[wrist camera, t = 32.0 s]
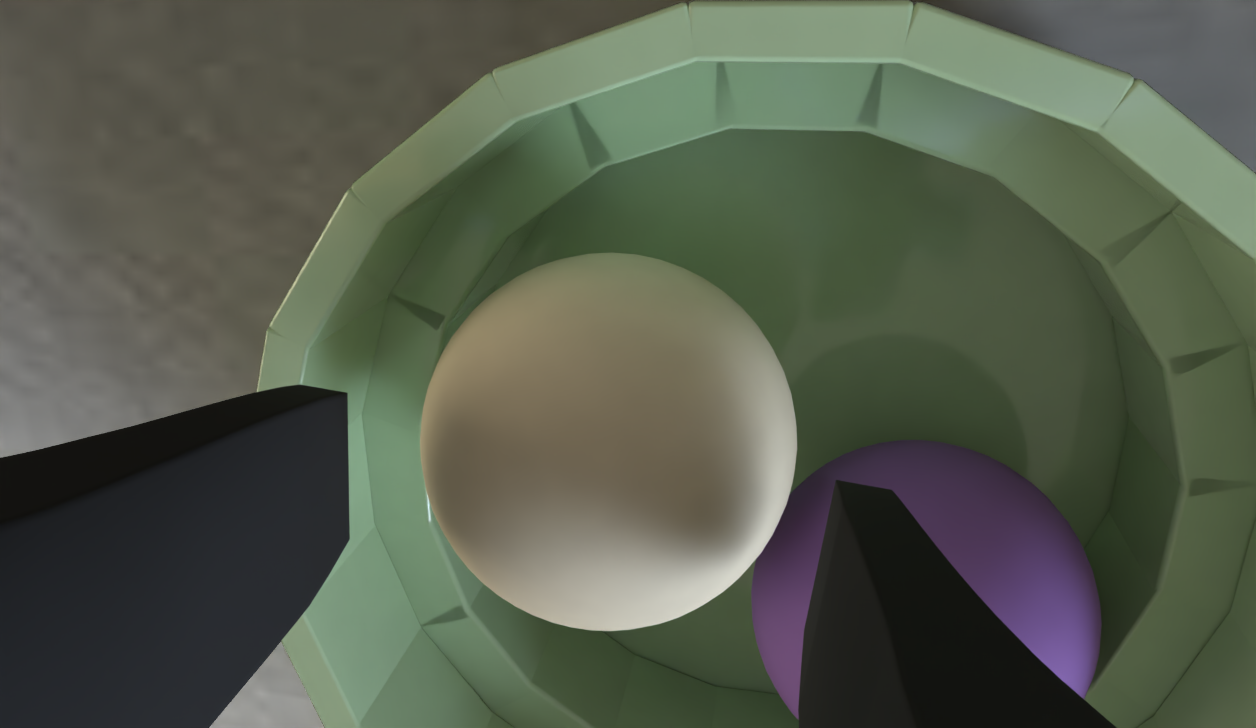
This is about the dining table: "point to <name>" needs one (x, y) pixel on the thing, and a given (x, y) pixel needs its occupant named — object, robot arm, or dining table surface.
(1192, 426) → the bowl
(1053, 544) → the lavender ball
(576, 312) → the cream ball
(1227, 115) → the dining table surface
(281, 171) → the dining table surface
